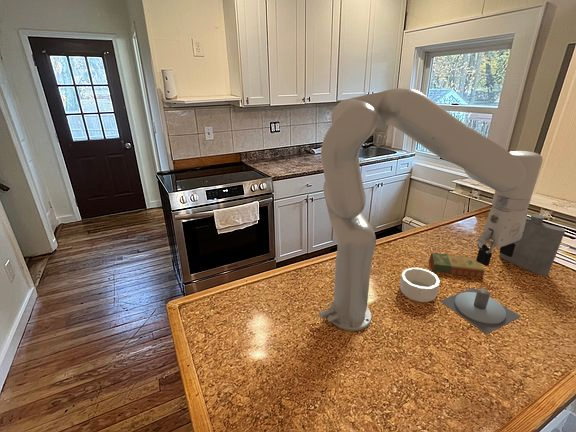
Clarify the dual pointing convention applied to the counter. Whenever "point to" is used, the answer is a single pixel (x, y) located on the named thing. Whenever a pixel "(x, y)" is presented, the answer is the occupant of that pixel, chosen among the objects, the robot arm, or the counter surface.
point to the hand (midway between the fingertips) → (494, 258)
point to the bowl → (419, 284)
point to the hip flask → (536, 246)
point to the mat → (483, 327)
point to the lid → (480, 307)
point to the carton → (456, 265)
